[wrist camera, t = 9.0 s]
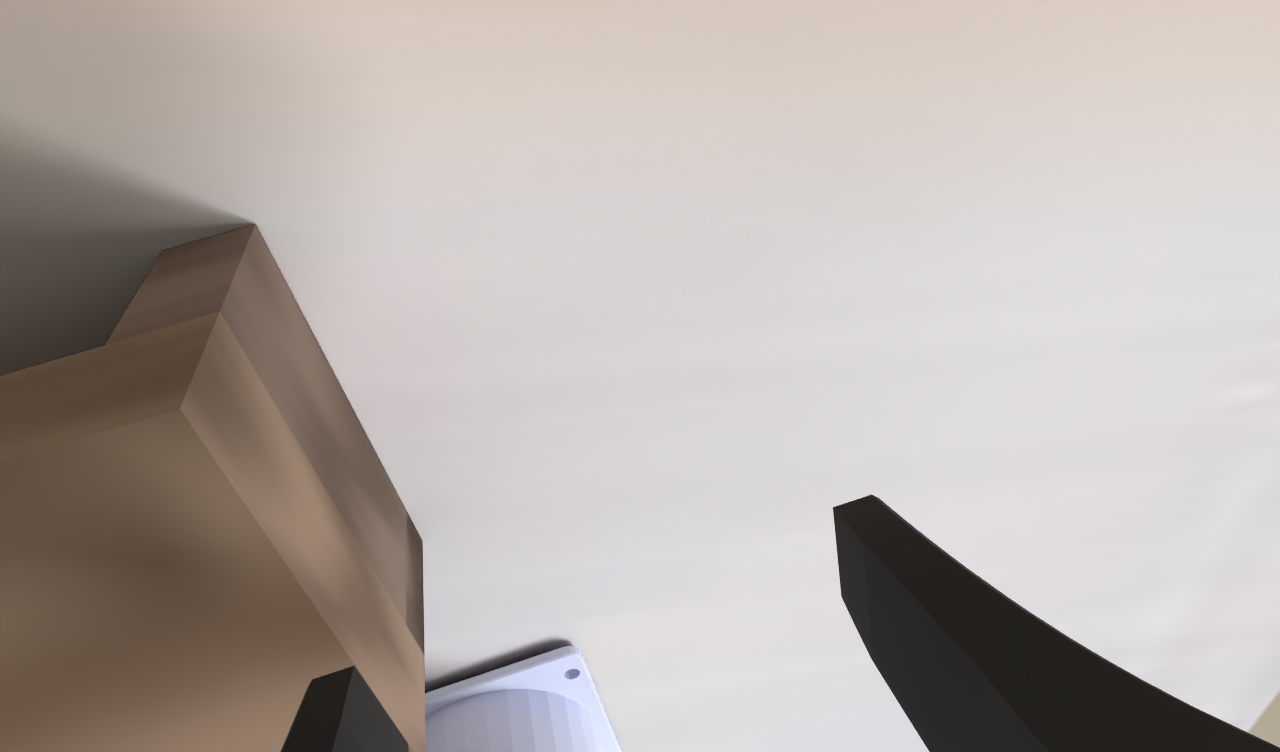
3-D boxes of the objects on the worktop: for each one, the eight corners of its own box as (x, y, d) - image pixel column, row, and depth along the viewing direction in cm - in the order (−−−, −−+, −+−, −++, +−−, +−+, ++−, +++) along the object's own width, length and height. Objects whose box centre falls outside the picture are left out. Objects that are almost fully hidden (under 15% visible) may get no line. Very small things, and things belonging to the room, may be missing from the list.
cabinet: (422, 540, 23) (426, 768, 17) (-43, 689, 22) (-200, 982, 16) (255, 224, 17) (179, 408, 12) (-381, 406, 16) (-800, 704, 11)
